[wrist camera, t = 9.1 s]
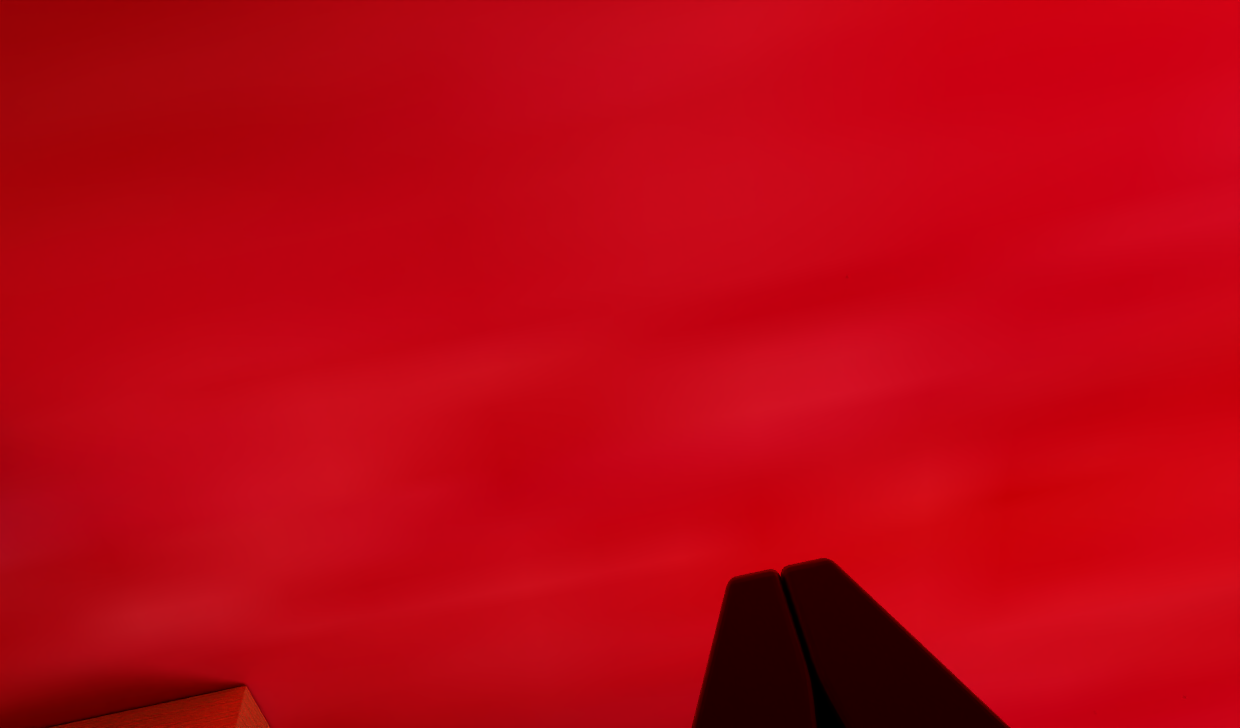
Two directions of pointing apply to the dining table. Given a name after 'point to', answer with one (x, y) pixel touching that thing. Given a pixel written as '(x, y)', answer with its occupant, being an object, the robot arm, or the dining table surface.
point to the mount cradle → (187, 713)
